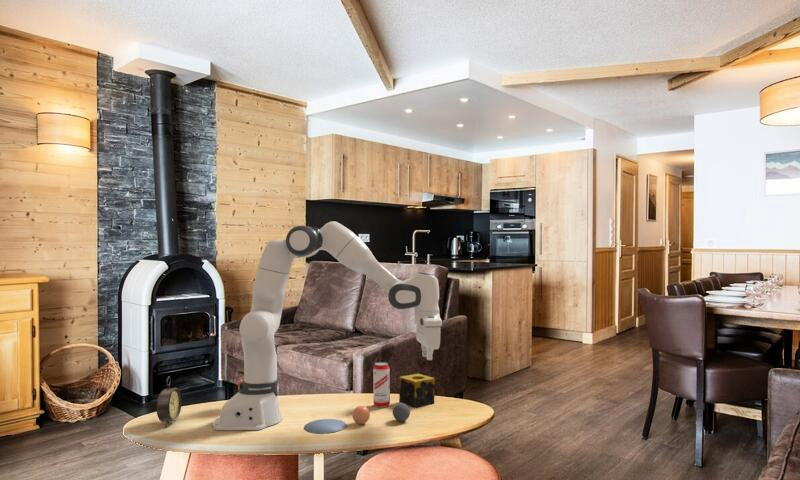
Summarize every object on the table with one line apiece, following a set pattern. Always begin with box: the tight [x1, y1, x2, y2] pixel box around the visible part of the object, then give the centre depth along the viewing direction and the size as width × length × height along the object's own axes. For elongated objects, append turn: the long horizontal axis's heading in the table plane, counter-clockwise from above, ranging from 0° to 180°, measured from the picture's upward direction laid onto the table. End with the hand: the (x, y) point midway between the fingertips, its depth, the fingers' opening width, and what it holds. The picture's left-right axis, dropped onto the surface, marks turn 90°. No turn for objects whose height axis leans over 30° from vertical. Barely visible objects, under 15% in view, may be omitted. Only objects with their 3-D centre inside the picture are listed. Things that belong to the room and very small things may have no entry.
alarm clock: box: [156, 376, 182, 429], centre depth 170 cm, size 11×5×16 cm, turn 3°
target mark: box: [304, 418, 347, 435], centre depth 166 cm, size 14×14×1 cm
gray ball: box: [392, 402, 411, 422], centre depth 171 cm, size 6×6×6 cm
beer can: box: [372, 361, 391, 409], centre depth 189 cm, size 6×6×16 cm
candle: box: [398, 373, 435, 409], centre depth 192 cm, size 10×10×10 cm
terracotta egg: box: [351, 405, 371, 425], centre depth 168 cm, size 6×6×6 cm
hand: (427, 358), depth 173 cm, fingers open, 5 cm apart
